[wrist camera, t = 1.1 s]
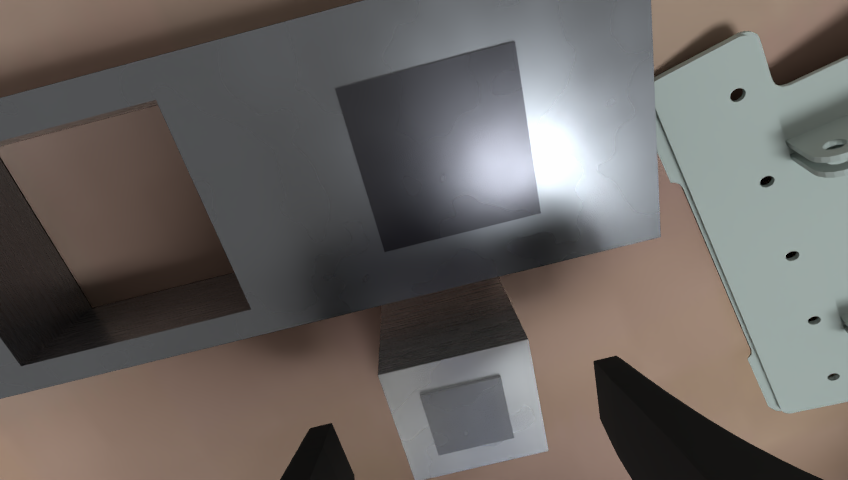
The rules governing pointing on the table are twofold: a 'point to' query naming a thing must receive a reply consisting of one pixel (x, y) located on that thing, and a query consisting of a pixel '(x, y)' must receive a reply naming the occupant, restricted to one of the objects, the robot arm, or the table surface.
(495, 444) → the cube with square inset
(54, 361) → the rail
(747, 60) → the metal bracket
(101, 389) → the table surface
